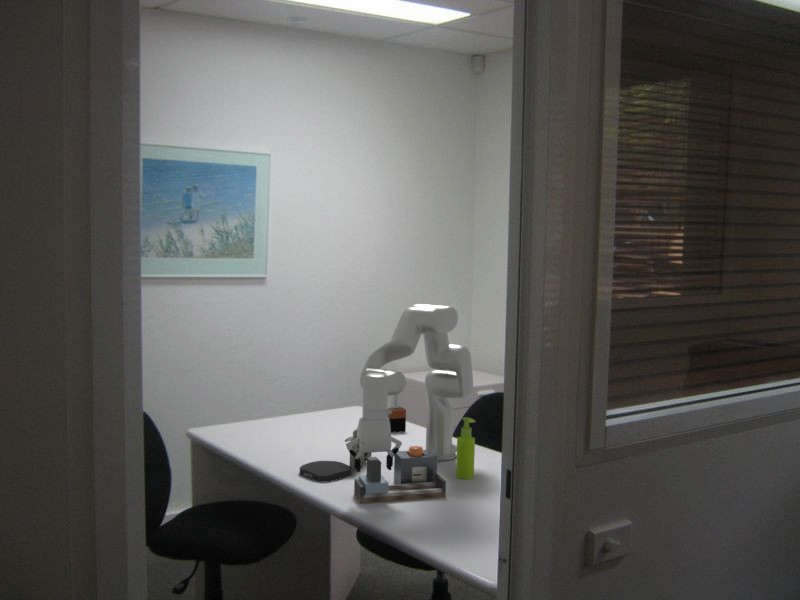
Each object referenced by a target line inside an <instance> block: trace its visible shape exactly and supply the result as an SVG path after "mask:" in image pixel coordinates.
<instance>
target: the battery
mask: <svg viewBox="0 0 800 600" xmlns="http://www.w3.org/2000/svg"><path fill="white" fill-rule="evenodd" d="M387 409H388V410H392V414H391V415H388V418H389V421H390V428H391V433H399V432H400V431H401V432H405V431H406V428H407V427H406V426H407V423H406V422H407V419H406V418H407V409H406V408H404V407H403V405H397V407H395V406H391V407H390V408H388V407H387ZM401 432H400V433H401Z"/></svg>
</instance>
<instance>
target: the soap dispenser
mask: <svg viewBox="0 0 800 600" xmlns="http://www.w3.org/2000/svg"><path fill="white" fill-rule="evenodd" d="M461 420H463V426H461V429H460V435H459V436H458V437H457V438H456V440H457V441H456V445H457V452H456V467H455V468H456V470H455V471H456V472H455V477H456V476H457V477H456V478H458V479H461V480H471V479H473V478H474V477H475V454H476V453H475V451H476V450H475V447H476V445H475V444H476V438H475V437H474V436H472V427H471V426H470V424H473V423H476V420H475V419H473V418H471V417H468V416H467V417H462V418H461Z"/></svg>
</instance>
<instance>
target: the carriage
mask: <svg viewBox="0 0 800 600" xmlns="http://www.w3.org/2000/svg"><path fill="white" fill-rule="evenodd" d="M358 480H359V481H360V483H361V484H362V485H363V487H364V493H365V494H376V493H388V485H389V482H388V480H387V479H386V478H385V477H384V475H382V462H381V460H380V459H379V458H378V457H377V456H371V457H367V462H366V473H365V474H359V475H358Z"/></svg>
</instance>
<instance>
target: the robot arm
mask: <svg viewBox="0 0 800 600" xmlns="http://www.w3.org/2000/svg"><path fill="white" fill-rule="evenodd" d="M458 315H459V313H458V311H457V310H456V308H454V307H453V306H451V305H437V304H425V303H415V304H412V305H411V306H410V307H408V308H406V309H404V311H403V312H402V313H401V316H400V318H399V320H398V322H397V324H396V327H395V329H394V331H393V334H392V336H391V338H390V340H389V341H388V342H386V343H384V344H383V345H381V346H379V347H378V348H377V349H376V350H375V351H373V352H372V353H371V354H370V355H369V356H368V358H367V360H366V362H365V364H364V365H363V368H362V371H361V373H360V379H359V383H360V384H359V385H360V388H361V389H362V412H361V413H362V415H361V416H362V417H360V418H359V420H358V425H357V427H358V430H357V438H355V439H354V440H352V441H348V442H346V443H345V446H346V448H347V450H348V452H349V455H350V454H351V455H352V456H353V457H354V468H355V469H356V470H357V471H356V472H358V473H360V472H361V469H360V467H361V459H360V456H361V455H362V454H363V453H370V452H371V453H385V452H386V453H387V455H386V460H385V463H386V469H387V470H388V471H391V470H392V467H394V455H395V454H396V453H397V452H398V451H400V449H401V447H402V444H403V442H402V441H401V440H399V439H397V438H395V437H393V436H392V432H391V428H390V421H389V418H388V415H391V414H392V410H388V404H389V403H388V402H389V401H388V399H389V398H388V397H389V396H397V395H400V394H401V393H403V391H404V390H405V388H406V385H407V378H406V376H405V375H404V374H403V372H400V371H399V370H395V369H394V370H392V369H386V368H385V369H383V368H382V367H384V366H385V365H386V364H389V363H392V362H394V361H397V360H402V359H404V358H407V357H410V356H411V355H413V354H414V352H415V351H416V348H417V347H418V343H419V341H420V339H421V336H423V340H424V342H423V343H424V351H425V352H424V353H425V359H426V364H427V366H428V367H429V368H431V369H433V370H430V371H429V372H428V373H427V374H426V375H425V378H424V388H425V395H426V431H425V432H426V433H425V434H426V436H425V438H426V439H425V450H431V451H432V452H433V453H434V454H435V455H436V456H437V462H439V461H440V462H443V461H452V460H455V459H456V458H457V444H454V443H453V431H454V429H453V426H454V425H453V424H454V407H453V404H452V402H451V401H450V399H459V400H467V399H469V398H470V397H471V396H472V395H473V392H474V376H473V375H474V373H473V366H472V365H473V363H472V355H471V351H470V350H469V348H468V347H467V346H466V345H462V344H457V343H456V344H455V343H450V342H449V335H448V333H450V332H452V331H454V330H455V328H456V327H457V325H458V321H459V316H458ZM392 443H394V445H395V446H394V447H393V448H392ZM355 444H356V446H357V448H358V449H357V450H356V451H355V452H354V451H353V449H352V446H353V445H355ZM361 468H362V467H361Z"/></svg>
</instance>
